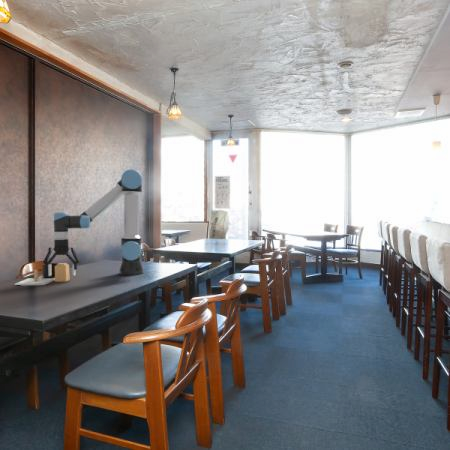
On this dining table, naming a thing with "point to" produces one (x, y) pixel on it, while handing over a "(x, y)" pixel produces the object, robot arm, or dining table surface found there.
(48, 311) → the dining table surface
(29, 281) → the junction board
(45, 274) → the mug
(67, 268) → the tan rectangular block
